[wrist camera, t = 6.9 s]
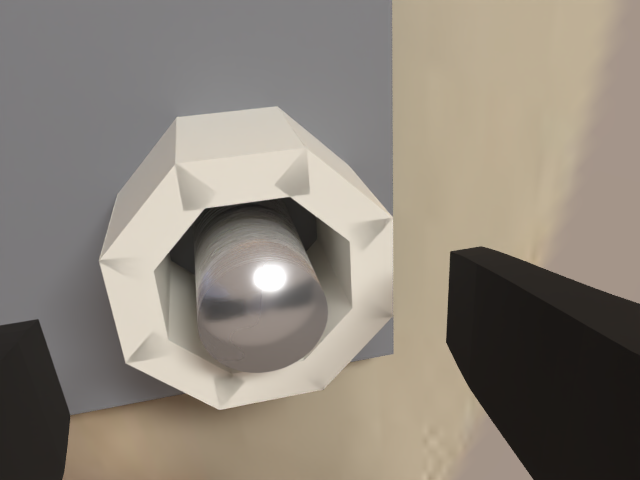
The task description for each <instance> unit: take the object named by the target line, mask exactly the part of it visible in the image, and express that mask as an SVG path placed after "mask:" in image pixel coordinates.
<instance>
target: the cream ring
mask: <svg viewBox="0 0 640 480" xmlns="http://www.w3.org/2000/svg"><path fill="white" fill-rule="evenodd" d="M285 197H291V198H292V199H294V200H295V201H296V202H298V203H299V204H300V205H302V206H303V207H304V208H306V209H307V210H308V211H310V212H311V213H312V214H314V215H315V216H316V226H317V240H316V241H315V242H314V243H313V244H312V245H311V247H310V248H309V249H308V250H307V251H306V253H307V256H308V258H309V260H310V262H311V265H312V267H313V269H314V271H315V274H316V276H317V278H318V281H319V283H320V285H321V287H322V290H323V292H324V295H325V297H326V301H327V305H328V318H327V323H326V327H325V330H324V332H323V334H322V336H321V338H320V340H319V341H318V343H317V344H316V345H315V347H314V348H313V349H312V350H311V351H310V352H309V353H308V354H307V355H305V356H304V357H303V358H301V359H300V360H299V361H297V362H295V363H293V364H292V365H289V366H287V367H285V368H282V369H279V370H275V371H271V372H263V373H249V372H242V371H238V370H234V369H232V368H229V367H227V366H225V365H223V364H221V363H220V362H218V361H217V360H216V359H214V358H213V357H212V356H211V355H210V354H209V352H208V351H207V350H206V349H205V347H204V345H203V343H202V341H201V339H200V336H199V332H198V323H197V301H196V280H195V275H194V274H192V273H190V272H189V271H187V270H186V269H184V268H182V267H181V266H179V265H177V264H176V263H174V262H172V261H171V258H170V253H169V252H170V250H171V249H172V248H173V247H174V245H175V244H176V243H177V242H178V241H179V239H180V238H181V237H182V236H183V234H184V233H185V232H186V231H187V230H188V228H189V227H190V226H191V225H192V223H193V222H194V221H195V220H196V218H197V217H198V216H199V215H200V214H201V212H202V211H203V210H204V209H205V208H211V207H218V206H226V205H233V204H240V203H248V202H255V201H263V200H270V199H277V198H285ZM99 263H100V267H101V271H102V274H103V278H104V282H105V286H106V290H107V294H108V297H109V301H110V305H111V309H112V313H113V317H114V321H115V324H116V328H117V332H118V336H119V340H120V344H121V347H122V351H123V355H124V359H125V363H126V364H128V365H130V366H132V367H134V368H136V369H138V370H140V371H142V372H144V373H146V374H148V375H150V376H152V377H154V378H156V379H158V380H160V381H162V382H164V383H166V384H168V385H170V386H172V387H174V388H176V389H178V390H180V391H182V392H184V393H186V394H188V395H190V396H192V397H194V398H196V399H198V400H200V401H202V402H204V403H206V404H208V405H210V406H212V407H214V408H216V409H218V410H222V409H227V408H232V407H237V406H242V405H247V404H252V403H257V402H263V401H268V400H273V399H278V398H283V397H288V396H293V395H298V394H304V393H309V392H314V391H319V390H324V389H325V387H326V386H327V385H328V384H329V383H330V382H331V381H332V380H333V379H334V378H335V377H336V376H337V375H338V374H339V373H340V372H341V371H342V370H343V368H344V367H345V366H346V365H347V364H348V363H349V362H350V361H351V360H352V359H353V358H354V357H355V356H356V355H357V354H358V353H359V352H360V351H361V349H362V348H363V347H364V346H365V345H366V344H367V343H368V342H369V341H370V340H371V339H372V338H373V337H374V336H375V335H376V334H377V333H378V332H379V330H380V329H381V328H382V327H383V326H384V325H385V324H386V323H387V322H388V321H389V320H390V319H391V318H392V317H393V217H392V216H391V215H390V213H389V212H388V211H387V210H386V209H385V207H384V206H383V205H382V204H381V203H380V202H379V200H378V199H377V198H376V197H375V196H374V195H373V193H372V192H371V191H370V190H369V189H368V187H367V186H366V185H365V184H364V183H363V182H362V180H361V179H360V178H359V177H358V176H357V174H356V173H355V172H354V171H353V170H352V169H351V167H350V166H349V165H348V164H347V163H345V162H344V161H343V160H342V159H341V158H339V157H338V156H337V155H336V154H334V153H333V152H332V151H331V150H330V149H328V148H327V147H326V146H325V145H324V144H322V143H321V142H320V141H319V140H318V139H316V138H315V137H314V136H313V135H312V134H310V133H309V132H308V131H307V130H305V129H304V128H303V127H302V126H301V125H299V124H298V123H297V122H296V121H295V120H293V119H292V118H291V117H290V116H289V115H287V114H286V113H285V112H284V111H282V110H281V109H280V108H279V107H278V106H275V107H266V108H257V109H248V110H238V111H229V112H220V113H211V114H201V115H192V116H183V117H176V119H175V120H174V121H173V123H172V124H171V125H170V127H169V128H168V129H167V131H166V132H165V133H164V134H163V136H162V137H161V138H160V140H159V141H158V142H157V143H156V145H155V146H154V147H153V149H152V150H151V151H150V153H149V154H148V155H147V156H146V158H145V159H144V160H143V162H142V163H141V164H140V166H139V167H138V168H137V169H136V171H135V172H134V173H133V175H132V176H131V177H130V179H129V180H128V181H127V182H126V184H125V185H124V186H123V188H122V189H121V190H120V192H119V193H118V194H117V198H116V201H115V205H114V208H113V212H112V215H111V219H110V223H109V226H108V230H107V233H106V237H105V240H104V244H103V248H102V251H101V255H100V258H99Z"/></svg>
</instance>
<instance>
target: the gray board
mask: <svg viewBox="0 0 640 480" xmlns="http://www.w3.org/2000/svg"><path fill="white" fill-rule="evenodd" d="M275 106H278V107H279V108H280V109H281V110H282V111H284V112H285V113H286V114H287V115H289V116H290V117H291V118H292V119H293V120H295V121H296V122H297V123H298V124H299V125H301V126H302V127H303V128H304V129H305V130H307V131H308V132H309V133H310V134H312V135H313V136H314V137H315V138H316V139H318V140H319V141H320V142H321V143H322V144H324V145H325V146H326V147H327V148H328V149H330V150H331V151H332V152H333V153H334V154H336V155H337V156H338V157H339V158H341V159H342V160H343V161H344V162H345V163H347V164H348V165H349V166H350V167H351V169H352V170H353V171H354V172H355V173H356V174H357V176H358V177H359V178H360V179H361V180H362V182H363V183H364V184H365V185H366V186H367V187H368V189H369V190H370V191H371V192H372V193H373V195H374V196H375V197H376V198H377V199H378V200H379V202H380V203H381V204H382V205H383V206H384V207H385V209H386V210H387V211H388V212H389V213H390V215H391V216H392V217H393V132H392V0H0V325H5V324H11V323H18V322H24V321H30V320H36V319H39V322H40V325H41V328H42V331H43V334H44V337H45V340H46V343H47V346H48V349H49V352H50V355H51V358H52V361H53V364H54V367H55V370H56V373H57V376H58V379H59V382H60V385H61V388H62V391H63V394H64V397H65V400H66V403H67V406H68V409H69V412H70V415H74V414H79V413H85V412H90V411H95V410H100V409H106V408H111V407H116V406H121V405H127V404H132V403H137V402H143V401H148V400H153V399H158V398H164V397H169V396H174V395H179V394H185V393H184V392H182V391H180V390H178V389H176V388H174V387H172V386H170V385H168V384H166V383H164V382H162V381H160V380H158V379H156V378H154V377H152V376H150V375H148V374H146V373H144V372H142V371H140V370H138V369H136V368H134V367H132V366H130V365H128V364H126V363H125V359H124V355H123V351H122V347H121V344H120V340H119V336H118V332H117V328H116V324H115V321H114V317H113V313H112V309H111V305H110V301H109V297H108V294H107V290H106V286H105V282H104V278H103V274H102V271H101V267H100V263H99V258H100V255H101V251H102V248H103V244H104V240H105V237H106V233H107V230H108V226H109V223H110V219H111V215H112V212H113V208H114V205H115V201H116V198H117V194H118V193H119V192H120V190H121V189H122V188H123V186H124V185H125V184H126V182H127V181H128V180H129V179H130V177H131V176H132V175H133V173H134V172H135V171H136V169H137V168H138V167H139V166H140V164H141V163H142V162H143V160H144V159H145V158H146V156H147V155H148V154H149V153H150V151H151V150H152V149H153V147H154V146H155V145H156V143H157V142H158V141H159V140H160V138H161V137H162V136H163V134H164V133H165V132H166V131H167V129H168V128H169V127H170V125H171V124H172V123H173V121H174V120H175V119H176V117H183V116H192V115H201V114H211V113H220V112H229V111H238V110H248V109H257V108H266V107H275ZM282 200H283V201H284V203H285V205H286V208H287V210H288V212H289V215H290V217H291V219H292V221H293V224H294V226H295V228H296V231H297V233H298V235H299V237H300V240H301V242H302V244H303V246H304V249H305V251H307V250H308V249H309V248H310V247H311V245H312V244H313V243H314V242H315V241H316V240H317V226H316V216H315V215H314V214H312V213H311V212H310V211H308V210H307V209H306V208H304V207H303V206H302V205H300V204H299V203H298V202H296V201H295V200H294V199H292V198H291V197H285V198H282ZM169 253H170V258H171V261H172V262H174V263H176V264H177V265H179V266H181V267H182V268H184V269H186V270H187V271H189V272H190V273H192V274H194V275H195V258H194V237H193V223H192V225H191V226H190V227H189V228H188V230H187V231H186V232H185V233H184V234H183V236H182V237H181V238H180V239H179V241H178V242H177V243H176V244H175V245H174V247H173V248H172V249H171V250H170V252H169ZM390 354H393V317H392V318H391V319H390V320H389V321H388V322H387V323H386V324H385V325H384V326H383V327H382V328H381V329H380V330H379V332H378V333H377V334H376V335H375V336H374V337H373V338H372V339H371V340H370V341H369V342H368V343H367V344H366V345H365V346H364V347H363V348H362V349H361V351H360V352H359V353H358V354H357V355H356V356H355V357H354V358H353V359H352V360H351V361H350V362H353V361H358V360H364V359H369V358H374V357H380V356H385V355H390Z"/></svg>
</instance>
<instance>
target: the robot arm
mask: <svg viewBox="0 0 640 480" xmlns="http://www.w3.org/2000/svg"><path fill="white" fill-rule="evenodd" d="M446 343H447V345H448V347H449V349H450V351H451V353H452V355H453V357H454V359H455V361H456V363H457V365H458V367H459V369H460V371H461V373H462V375H463V377H464V379H465V381H466V383H467V384H468V386H469V388H470V389H471V391H472V392H473V394H474V395H475V397H476V398H477V400H478V401H479V403H480V404H481V405H482V407H483V408H484V410H485V411H486V413H487V414H488V416H489V417H490V419H491V420H492V421H493V423H494V424H495V426H496V427H497V428H498V430H499V431H500V433H501V434H502V436H503V437H504V438H505V440H506V441H507V443H508V444H509V445H510V447H511V448H512V450H513V451H514V453H515V454H516V455H517V457H518V458H519V460H520V461H521V462H522V464H523V465H524V467H525V468H526V470H527V471H528V472H529V474H530V475H531V477H532V478H533V479H534V480H640V304H639V303H636V302H632V301H630V300H626V299H624V298H621V297H618V296H615V295H612V294H609V293H606V292H604V291H601V290H598V289H595V288H593V287H590V286H587V285H584V284H582V283H579V282H577V281H574V280H572V279H569V278H566V277H564V276H561V275H559V274H556V273H553V272H551V271H549V270H546V269H543V268H541V267H538V266H536V265H533V264H531V263H528V262H526V261H523V260H520V259H518V258H515V257H512V256H510V255H507V254H504V253H501V252H498V251H495V250H492V249H489V248H485V247H475V248H469V249H463V250H457V251H451V252H450V271H449V293H448V314H447V336H446ZM69 424H70V412H69V409H68V406H67V403H66V400H65V397H64V394H63V391H62V388H61V385H60V382H59V379H58V376H57V373H56V370H55V367H54V364H53V361H52V358H51V355H50V352H49V349H48V346H47V343H46V340H45V337H44V334H43V331H42V328H41V325H40V322H39V319H36V320H30V321H24V322H18V323H11V324H5V325H0V480H62V478H63V474H64V469H65V461H66V453H67V445H68V435H69Z"/></svg>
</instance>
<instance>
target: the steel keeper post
mask: <svg viewBox="0 0 640 480" xmlns="http://www.w3.org/2000/svg"><path fill="white" fill-rule="evenodd" d="M193 237H194V258H195V280H196V301H197V323H198V332H199V336H200V339H201V341H202V343H203V345H204V347H205V349H206V350H207V351H208V352H209V354H210V355H211V356H212V357H213V358H214V359H216V360H217V361H218V362H220V363H221V364H223V365H225V366H227V367H229V368H232V369H234V370H238V371H242V372H249V373H263V372H271V371H275V370H279V369H282V368H285V367H287V366H289V365H292V364H293V363H295V362H297V361H299V360H300V359H301V358H303V357H304V356H305V355H307V354H308V353H309V352H310V351H311V350H312V349H313V348H314V347H315V345H316V344H317V343H318V341H319V340H320V338H321V336H322V334H323V332H324V330H325V327H326V323H327V318H328V305H327V301H326V297H325V295H324V292H323V290H322V287H321V285H320V283H319V281H318V278H317V276H316V274H315V271H314V269H313V267H312V265H311V262H310V260H309V258H308V256H307V253H306V251H305V249H304V246H303V244H302V242H301V240H300V237H299V235H298V233H297V231H296V228H295V226H294V224H293V221H292V219H291V217H290V215H289V212H288V210H287V208H286V205H285V203H284V201H283V200H282V198H277V199H270V200H263V201H255V202H248V203H240V204H233V205H226V206H218V207H211V208H205V209H204V210H203V211H202V212H201V214H200V215H199V216H198V217H197V218H196V220H195V221H194V222H193Z"/></svg>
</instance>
